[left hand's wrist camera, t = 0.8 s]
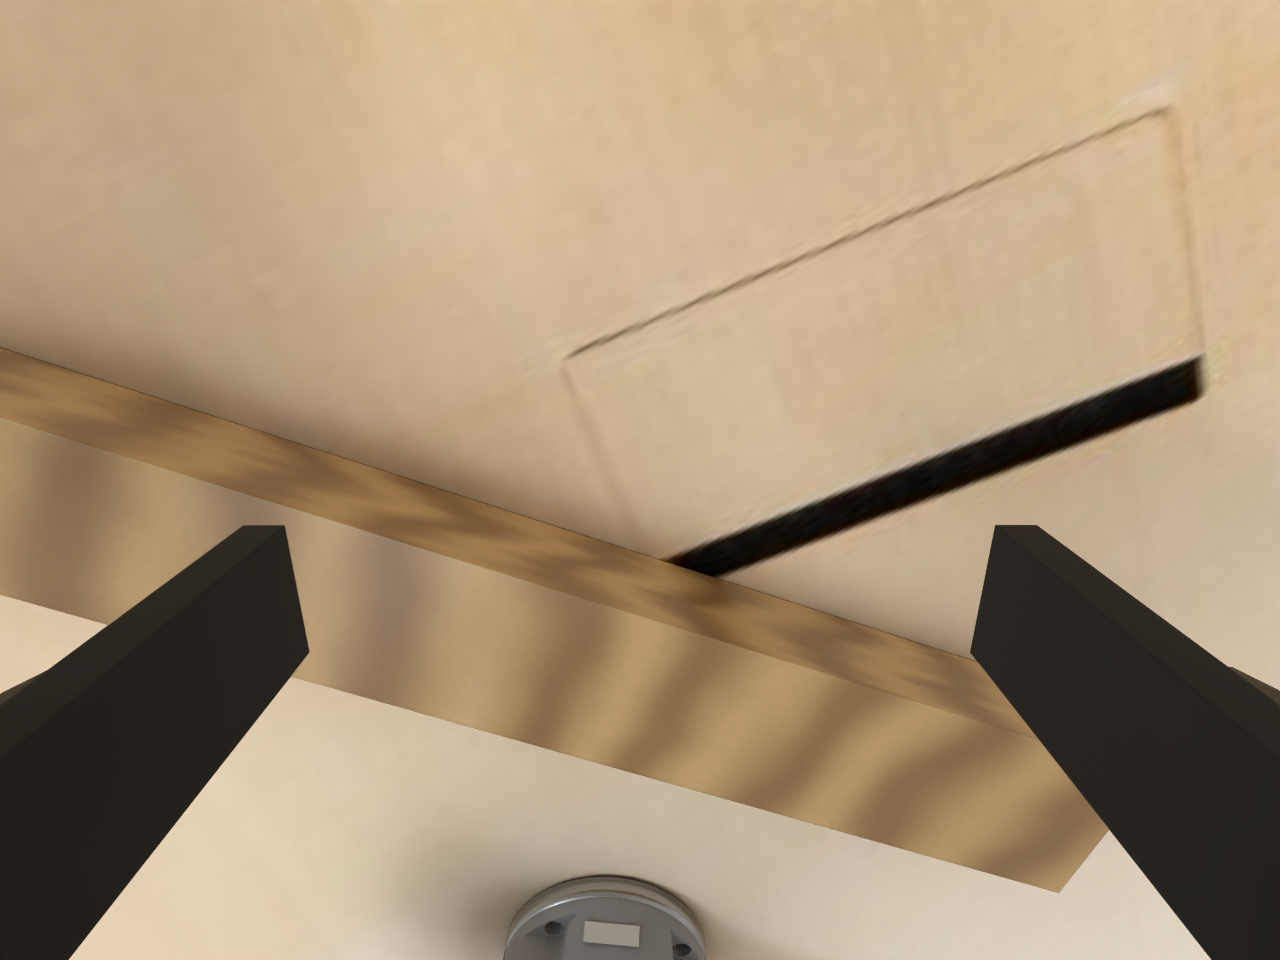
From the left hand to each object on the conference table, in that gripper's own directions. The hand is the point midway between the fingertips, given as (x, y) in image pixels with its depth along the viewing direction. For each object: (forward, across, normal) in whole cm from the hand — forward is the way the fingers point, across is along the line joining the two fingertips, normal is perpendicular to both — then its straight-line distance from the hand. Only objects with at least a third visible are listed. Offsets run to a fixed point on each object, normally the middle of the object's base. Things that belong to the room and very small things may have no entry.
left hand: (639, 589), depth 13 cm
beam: (+26, +13, +12) cm, 31 cm away
